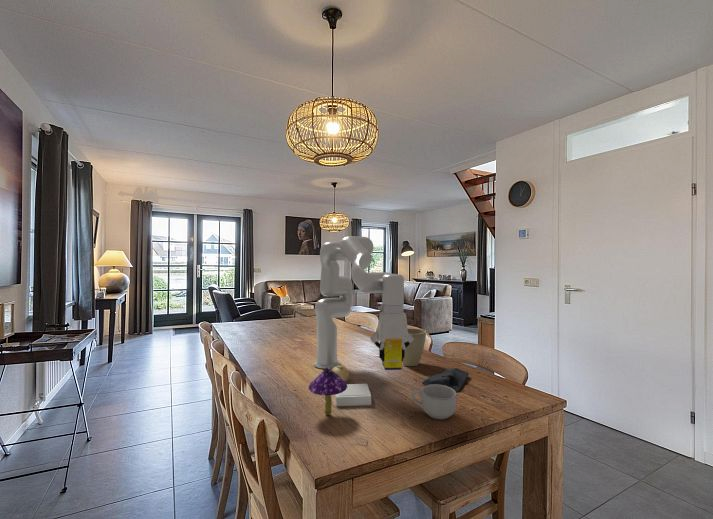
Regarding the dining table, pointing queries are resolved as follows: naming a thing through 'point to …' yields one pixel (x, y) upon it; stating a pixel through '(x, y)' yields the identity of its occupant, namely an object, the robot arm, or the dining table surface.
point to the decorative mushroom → (328, 386)
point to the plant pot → (414, 347)
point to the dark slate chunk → (448, 378)
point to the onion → (341, 372)
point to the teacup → (437, 400)
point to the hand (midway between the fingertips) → (391, 359)
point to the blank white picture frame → (354, 395)
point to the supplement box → (392, 354)
